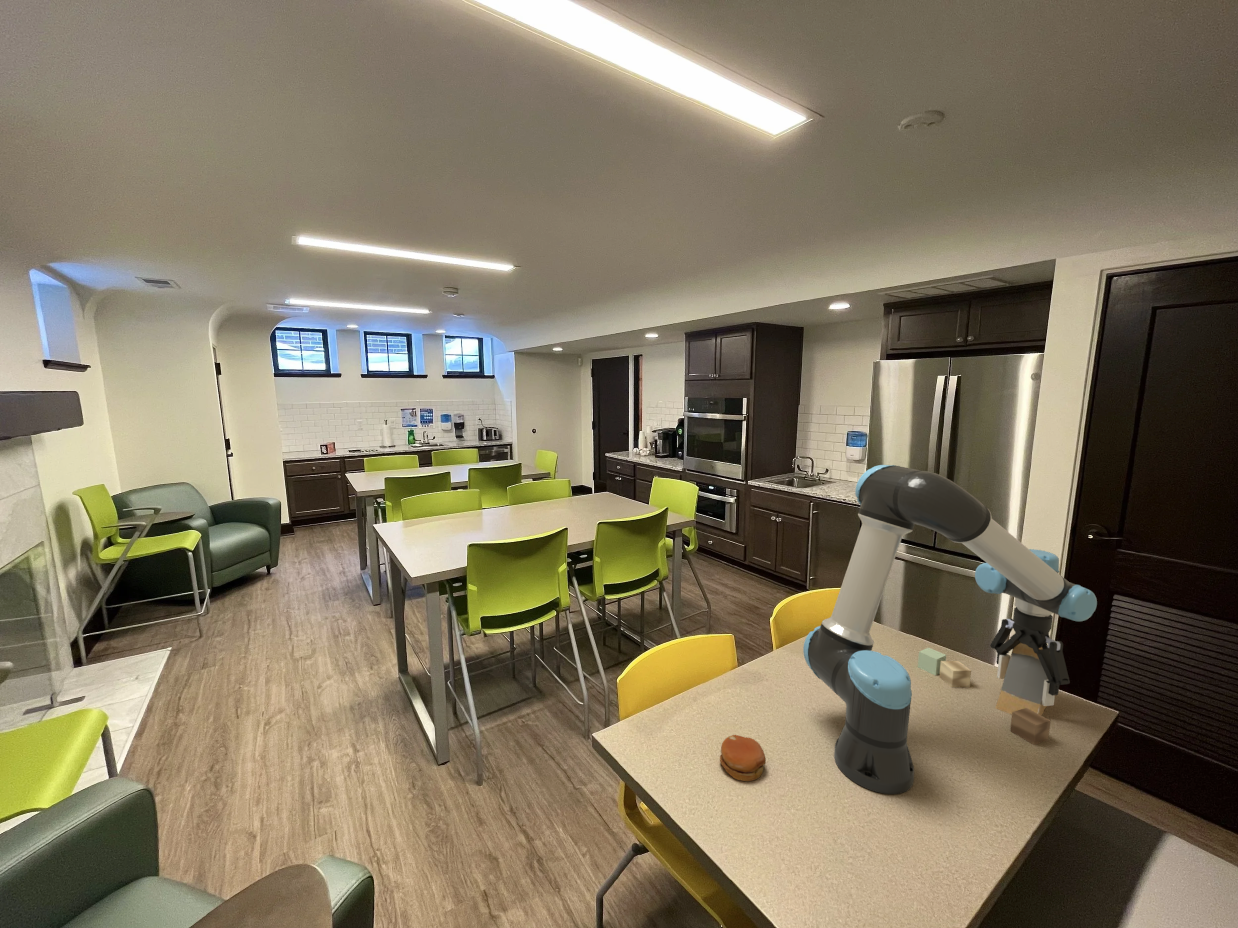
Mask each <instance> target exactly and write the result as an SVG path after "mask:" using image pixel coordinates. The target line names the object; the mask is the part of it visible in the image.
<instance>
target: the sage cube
mask: <svg viewBox="0 0 1238 928" xmlns="http://www.w3.org/2000/svg"><path fill="white" fill-rule="evenodd" d="M917 658H918V659H917V668H918V669H921V670H923V671H925V672H926V673H929V674H931V675H934V676H938V675H940V664H941V661H947V654H945V653H942V652H941V651H938V650H935V649H933V648H930V647H926V648H924V649H922V650H919V651H918V657H917Z"/></svg>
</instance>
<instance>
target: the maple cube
mask: <svg viewBox="0 0 1238 928" xmlns="http://www.w3.org/2000/svg"><path fill="white" fill-rule="evenodd" d="M938 675H939V679H940V680H942V681H943V682H944V683H945V684H946V685H948V686H949V687H950V688H953V689H954V687H955V689H957V688H970V686H971V678H972V677H971V676H972V670H971V669H970V668H969V667H967V666H966V665H965V664H963V663H962V662H960V661H959V660H946V661H941V664H940V674H938ZM956 687H957V688H956Z"/></svg>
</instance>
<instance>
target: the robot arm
mask: <svg viewBox="0 0 1238 928" xmlns="http://www.w3.org/2000/svg"><path fill="white" fill-rule="evenodd" d="M859 477H860V478H858V480H857V483H856V484H855V485H856V486H855V491H854V492H855V497H856V498H857V499H856V501H857V502H858V504H859V506H860V507H859V510H858V513H857V516H858V518H859V519H860V521H861V527H860V529H859V533H858V535H857V539H856V542H855V544H854V548H853V551H852V553H851V556H850V560H849V562H848V566H847V569H846V571H845V574H844V577H843V581H842V584H841V586H840V590H839V593H838V595H837V598H836V601H835V604H834V608H833V609H832V613H831V616H830V617H828V618H825V619H823V620H822V622H821V624H820V625H818V626H816V627H815V628H813V631H809V633H808V634H807V636H806V637H805V640H804V642H803V651H802V652H803V653H802V654H803V658H804V660H805V663H806V664H807V666H808V668H809V669H811V671H812V673H813V674H814V675H815V676H816V677H817V678H818V679H819V680H821V682H823V683H824V684H825V685H826V686H827V687H828V688H829V689H830V690H831V691H833V692H834V693H835V695H837V696H838V697H839V698H840V699H841V700H842V701H843V702H844V703H845V722H844V725H843V728H842V730H841V733H840V735H839V737H838V738H837V739H836V741H835V745H834V750H833V751H834V753H833V757H834V762H835V764H836V766H837V767H838V769H839V770H840V771H841V772H842V774H843V775H844V776H846V777H847V778H848V779H850V780H851V781H852V782H853V783H855V784H856V785H859V786H861V787H863V788H865V789H867V790H870V791H873V792H876V793H879V794H884V795H885V794H886V795H899V794H902V793H906V792H907V791H910V789H911V788H912V786H913V785H914V782H915V781H914V780H915V767H914V763H913V759H912V756H911V753H910V752H911V751H910V749H909V745H908V733H909V723H910V721H909V720H910V713H911V704H912V702H911V701H912V695H913V694H912V692H913V691H912V680H911V676H910V674H909V672H908V671H907V669H906V668H905V667H904V666H903V665H902V664H901V663H900V662H899V661H898V660H896V659H894V658H893V657H891V656H889V655H886V654H885V655H883V654H882V653H881V652H878V651H874V650H873V647H874V644H875V642H874V639H873V637H872V636H871V633H870V632H871V629H872V626H873V623H874V620H875V618H876V615H877V613H878V608H879V607H880V606H879V605H880V602H881V601H882V600H881V599H882V597H883V594H884V591H885V587H887V586H886V585H887V582H888V580H889V576H890V573H891V571H892V568H893V565H894V561H895V559H896V556H897V553H898V549H899V548H900V545H901V542H902V538H903V537H904V536H905V535H907V534H910V533H911V532H913V530H914V527H915V525H917V526H921V527H923V528H924V527H925V528H926V529H930V530H931V531H934V532H937V533H939V534H941V535H942V536H944V537H946V539H948V540H949V541H951V542H953V543H955V544H956V543H958V544H962V545H964V546H965V547H966V548H967V549H968V550H970V551H971V552H972V553H974V554H975V555H976V556H977V557H978V558H980V559H981V560H983V561H984V562H983V563H980V564H979V565H977V567H976V568H975V573H974V579H975V582H976V584H977V586H978V587H979V588H980V590H982V591H983V592H985V593H988V594H996V595H1000V594H1005V595H1008V596H1010V597H1012V598H1014V606H1015V607H1014V608H1013V609H1014V610H1013V618H1003V619H1001V626H1000V627H999V630H998V631H997V633H996V635H995V636H994V638H993V640H992V641H991V643H990V644H989V645H990V648H992V649H994V650H995V652H996V664H997V671H996V672H997V675H996V678H998V679H999V680H1001V679H1002V680H1004V677H1005V674H1006V671H1007V667H1008V664H1009V660H1010V657H1011V654H1010V651H1011V652H1012V649H1013V648H1014V647H1016V646H1017V645H1018V644H1019V643H1022V644H1025V645H1027V646H1028V647H1030V648H1033V651H1034V652H1035V653H1036V654H1037V656H1038V658H1039V660H1040V662H1041V665H1042V667H1043V669H1044V671H1045V674H1046V676H1047V678H1048V680H1044V688H1043V696H1042V705H1043V706H1047V707H1050V706H1054V705H1055V697H1056V696H1058V695H1059V690H1060V686H1061V685H1069V684H1070V683H1071V681H1070V677H1069V674H1068V670H1067V665H1066V660H1065V657H1064V652H1063V649H1064V642H1062V641H1061V640H1059V641H1058V640H1057V641H1056V640H1055V639H1052V638H1051V637H1050V631H1051V630H1052V627H1053V626H1052V625H1053V619H1054V617H1053V614H1055V615H1057V616H1059V617H1061V618H1065V619H1067V620H1071V621H1075V622H1083V621H1087V620H1088V619H1089V618H1091V617H1092V616H1093V614H1094V612H1096V609H1097V605H1098V601H1097V600H1098V599H1097V597H1096V595H1095V593H1094V592H1093V591H1092V590H1090V589H1088V588H1086V587H1083V586H1081V585H1080V584H1075V583H1073V582H1069V581H1068V580H1067V579H1066V578H1064V577H1063V576H1062V575H1061V574H1060V570H1059V569H1060V558H1059V557H1058V556H1057V555H1056V554H1054V553H1052V552H1049V551H1045V550H1041V549H1034V548H1033V549H1031V548H1028V547H1027V546H1026V545H1024V544H1023V542H1021V541H1020V540H1018V539H1017V538H1016V537H1015V536H1014V535H1012V534H1011V533H1010V532H1009V531H1008V530H1007V529H1005V528H1004V527H1003V526H1002V525H1001V524H999V523H998V522H997V521H996V520H994V519H993V517H992V513H991V511H990V509H989V508H988V507H987V506H986V505H985V504H983V503H982V502H981V501H980V500H979V499H977V498H976V497H975V496H973V495H972V494H971V493H969V492H968V491H967V490H966V489H964V488H963V487H961V486H959V484H957V483H955V482H954V481H952V480H951V479H948V478H947V477H945V476H944V475H940V474H938V473H935V472H933V471H928V470H919V469H915V468H909V467H905V466H901V465H895V464H892V465H891V464H889V465H888V464H879V465H875V466H873V467H871V468H869V469H867V470H866V471H865V472H863V474H862V475H861V476H859ZM1012 631H1014V633H1013V634H1012V635H1011V636H1010V634H1011V632H1012ZM1009 636H1010V637H1009ZM1008 637H1009V639H1008ZM1007 639H1008V640H1007ZM1006 640H1007V641H1006ZM1041 647H1042V648H1043V649H1041V650H1040V649H1039V648H1041Z"/></svg>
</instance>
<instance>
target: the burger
mask: <svg viewBox="0 0 1238 928" xmlns="http://www.w3.org/2000/svg"><path fill="white" fill-rule="evenodd" d="M719 762H720V764H721V766H722V767H723V768H724V770H725V772H726V773H727V774H728V775H729V776H731V777H732V778H733V779H735V780H738V781H744V782H752V781H754V780H758V778H760V777H761V776H762V775H763V771H764V766H765V764H766V754H765V752H764V749H763V748H762V746H761V745H760V743H759V741H757V740H756V739H753V738H752V737H749V736H748V737H745V736H741V735H739V734H738V735H737V734H732V735H730V736H728V737H726V738H725V739H724V740H723V741H722V743H721V746H720V756H719Z"/></svg>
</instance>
